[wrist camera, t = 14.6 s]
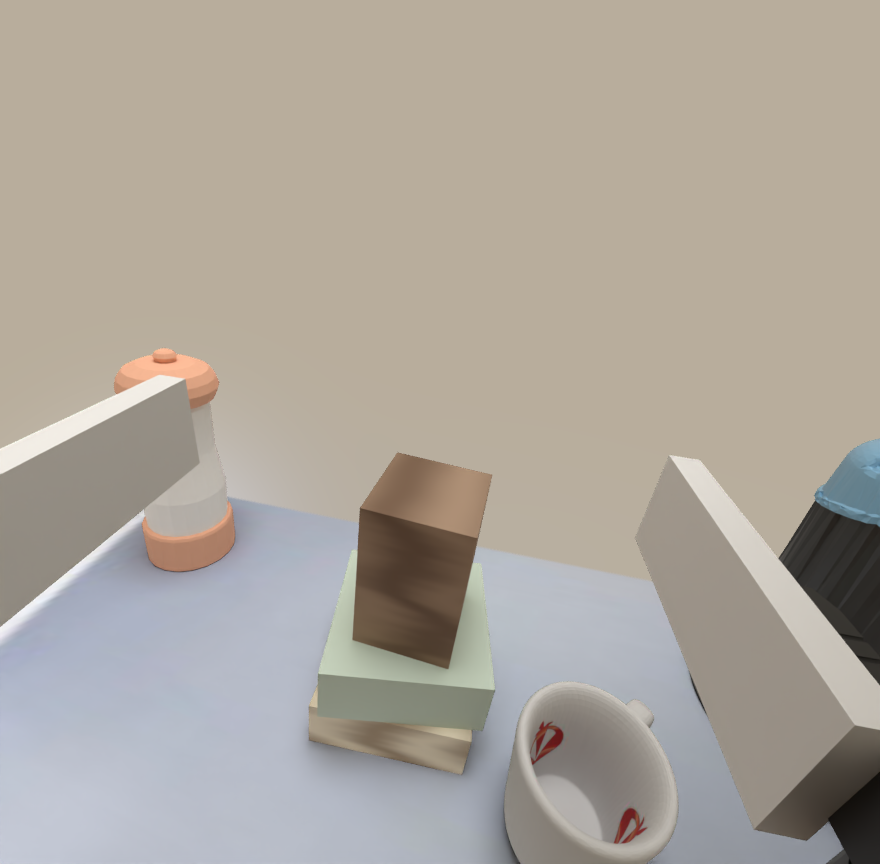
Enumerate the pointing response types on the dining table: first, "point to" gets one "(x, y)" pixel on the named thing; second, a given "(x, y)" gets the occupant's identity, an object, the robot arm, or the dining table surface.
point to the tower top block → (408, 671)
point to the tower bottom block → (394, 740)
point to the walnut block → (417, 557)
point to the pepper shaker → (202, 489)
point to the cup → (588, 780)
